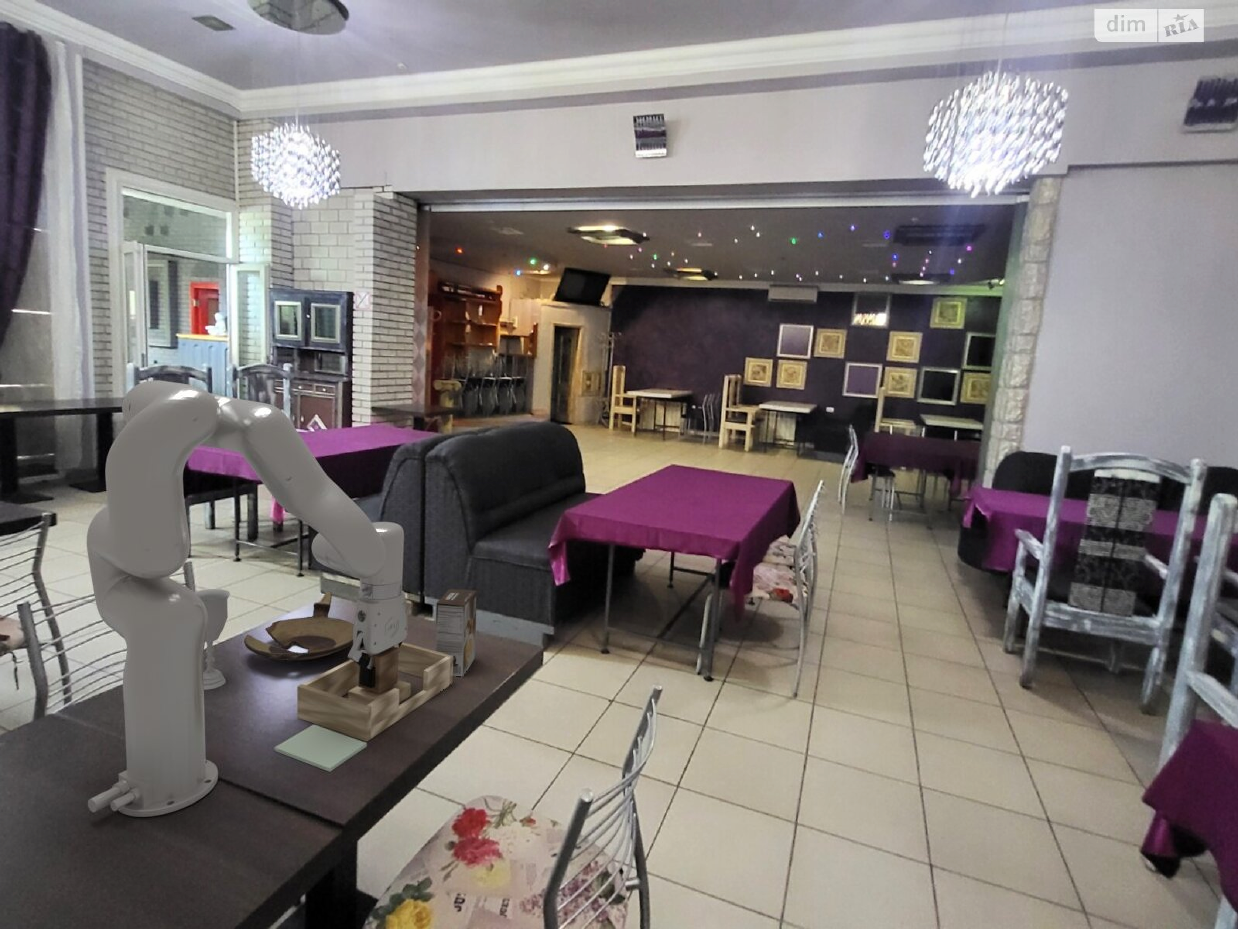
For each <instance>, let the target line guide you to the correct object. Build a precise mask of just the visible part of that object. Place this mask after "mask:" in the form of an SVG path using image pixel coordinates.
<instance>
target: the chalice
mask: <svg viewBox="0 0 1238 929" xmlns="http://www.w3.org/2000/svg"><path fill="white" fill-rule="evenodd" d="M193 592H194V593H196V594H197V595H198V596H199V598H200V599H201V600H202V601H203V603H204V605H205V607H206V610H207V614H208V628H207V634H206V640H205V644H206V649H204V653H206V655H207V656H206V659H205V660H204V662H206V664H207V666H206V669H205V670H203V684H204V691H206V690H213V689H216V688H220V687H221V686H223V685H225V684H226V682H227V680H226V679H225V677H224V675H223V674H222V671H220V670H219V669H217V668H215V667H214V662H215V661H216V658H215V657H214V652H215V648H214V642H215V641H217V640H218V639H219V638H220V636H221V635H222V632H223V630H224V628H225V626H226V623H227V620H228V616H229V615H228V614H229V612H228V599H229V597H230V594H231V592H230V591H229V590H226V589H220V588H219V589H218V588H210V589H209V588H208V589H201V590H196V591H193Z"/></svg>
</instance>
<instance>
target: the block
mask: <svg viewBox="0 0 1238 929" xmlns="http://www.w3.org/2000/svg"><path fill="white" fill-rule="evenodd" d="M398 656H399V648H396V647H391V648H389V649H387V650H385V651H383V652H381V653H379V654H376V656H375V660H374V665H373V667H376V668H375V687H373V688H369V687H366V686H363V685H360V666H359V680H358V687H361V688H364V689H367V690H370V691H373V692H377V693H380V692H382V691H384V690H386V689H387V688H389V687H391V686H393V685H394V684H396V683H398V680H399V677H398V676H399V671H398ZM368 657H369V654H366V656H365V658H366V659H367V660H368Z"/></svg>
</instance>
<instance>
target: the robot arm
mask: <svg viewBox="0 0 1238 929" xmlns="http://www.w3.org/2000/svg"><path fill="white" fill-rule="evenodd" d="M121 410H122V411H121V412H122V416H123V419H124V420H125V421H126V424H125V426H124V427H123V428H122V430H121V431H120V432H119V434H118V435H117V436H116V438H115V440H113V443H111V444H112V445H111V447H110V448H109V451H108V454H107V456H106V462H105V471H104V472H105V485H106V486H105V488H106V502H107V503H106V504H107V505H106V506H104V507H103V508H102V509H101V510H99V511H98V512H97V513H96V514H95V516H94V517H93V518H92V520H91V521H90V523H89V526H88V529H87V533H86V551H87V552H86V553H87V558H88V563H89V565H88V566H89V570H90V576H91V583H92V589H93V595H94V601H95V605H96V609H97V612H98V614H99V616H100V618H101V620H102V621H103V622H104V623H105V625H106V626H107V627H109V628H110V629H112V630H113V631H114V632H116V633H117V634H118V635H119V637H121V638H123V639H124V640H125V644H126V657H125V660H124V661H125V662H124V667H123V672H122V674H123V675H122V696H123V711H124V713H123V714H124V732H125V737H124V738H125V754H126V770H123V771H122V772H120V773H118V782H116V783H114V784H112V787H111V788H110V789H108V790H106V791H103V792H101V793H99V794H97V795H95V796H93V797H91V798H90V799H88V801H87V806H88V809H89V811H90V812H92V813H96V812H98V811H100V810H102V809H103V808H106V807H108V806H110V808H111V810H112V811H113V812H116V811H118V812H120V813H121V814H123V815H127V816H129V817H135V818H136V817H139V818H140V817H142V818H144V817H145V818H146V817H155V816H162V815H165V814H166V815H167V814H169V813H173V812H176V811H179V810H181V809H185V808H186V807H188V806H191V805H193V804H195V803H196V802H197V801H199V800H201V799H202V798H203V797H205V796H206V795H208V793H210V792H211V791H212V790H213V788H215V785H216V784H217V782H218V779H219V770H218V766H217V765H216V764H215V763H214V762H212V761H211V760H208V759H206V728H205V727H206V724H205V723H206V722H205V720H206V718H205V717H206V716H205V690H204V684H203V672H204V653H205V646H206V642H205V640H206V634H207V628H208V614H207V610H206V607H205V605H204V603H203V601H202V600H201V599H200V598H199V596H198V595H197V594H196V593H194V592H195V591H194V590H191V589H190V588H189V587H187V586H185V585H183V584H182V583H180V582H178V581H176V580H174V579H172V578H171V577H170V576H172V575H173V574H174V573H176V572H177V571H179V570H180V569H181V568H182V567H183V566H184V565H185V563H186V561H187V559H188V558H189V555H190V550H191V540H190V539H191V538H190V532H189V531H190V530H189V525H188V519H187V518H188V517H187V512H186V504H185V503H186V502H185V496H184V479H183V478H184V471H185V470H184V469H185V466H186V463H187V461H188V460H189V458H190V457H191V455H192V454H193V452H194V451H195V450H196V449H197V448H199V446H202V447H207V448H214V449H221V450H228V451H231V452H236V453H239V454H240V455H241V456H242V457H243V459H245V461H246V463H247V464H248V465H249V466H250V467H251V469H252V471H253V472H254V473H255V474H256V476H257V477H258V479H259V481H261V483H262V484H263V485H264V487H265V489H267V490H268V492H269V493H270V495H271V496H272V498H273V499H274V501H276V502H277V504H278V505H280V506H281V507H282V508H283V509H284V510H285V511H286V512H288V513H289V514H290V515H292V516H293V517H295V518H297V519H299V521H301V522H303V523H305V524H307V525H308V527H309V526H310V527H311V528H312V529H313V530H315V531H316V532H318V533H317V534H316V535H315V537H314V538H313V539H312V540H313V541H312V543H311V551H312V552H311V553H312V556H313V557H314V559H315V560H316V561H317V562H318V563H319V564H321V565H323V566H325V567H327V568H330V569H332V570H334V571H337V572H339V573H342V574H345V575H347V576H350V577H352V578H356V579H359V590H358V591H357V595H358V597H359V598H358V600H357V603H356V608H355V611H354V612H355V613H354V620H353V624H354V629H353V644H352V645H351V649H350V650H349V652H348V655H347V658H348V660H353V661H354V662H356V663H357V665H358V666H360V685H363V686H366V687H369V688H373V687H375V668H376V667H373V665H374V660H375V656H376V654H379V653H381V652H383V651H385V650H387V649H389V648H391V647H396V648H400V646H401V644H402V642H404V641H405V639H407V636H408V632H409V630H408V609H407V608H408V607H407V600H406V595H405V592H404V590H403V570H404V544H405V542H404V541H405V532H404V531H405V530H404V529H403V527H402V526H401V525H400V524H398V523H396V522H390V521H374V522H372V521H371V520H370V518H369V517H368V516H367V514H366V513H365V512H364V511H363V510H362V508H361V507H360V506H358V505H357V504H356V502H354V500H353V499H352V498H350V497H349V495H348V494H346V493H345V492H344V491H343V489H341V488H340V486H338V484H336V483H335V482H334V481H333V480H332V478H330V476H328V475H327V473H326V472H325V471H324V469H323V468H322V466H321V465H320V463H319V462H318V460H317V459H316V458H315V456H314V454H313V453H312V451H311V449H309V447H308V445H307V444H306V442H305V441H304V439H303V437H302V436H301V435H300V433H299V432H298V430H297V428H295V425H294V424H293V423H292V421H291V420H290V418H289V416H287V415H286V413H285V412H284V411H283V410H282V409H280V408H278V407H277V406H275V405H273V404H269V403H265V402H261V401H260V402H259V401H256V400H255V401H254V400H248V399H241V398H236V397H230V396H225V395H220V394H216V393H212V392H211V393H210V392H209V391H207V390H206V389H204V388H201V387H198V386H195V385H191V384H186V383H182V382H181V383H180V382H172V381H166V380H158V379H157V380H147V381H143V382H141V383H138V384H136V385H134V386H133V387H132V388H130V390H128V391H127V393H126V394H125V396H124V398H123V401H122V405H121ZM399 652H400V650H399ZM366 654H369V657H368V660H367V659H366V658H365V656H366Z"/></svg>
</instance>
